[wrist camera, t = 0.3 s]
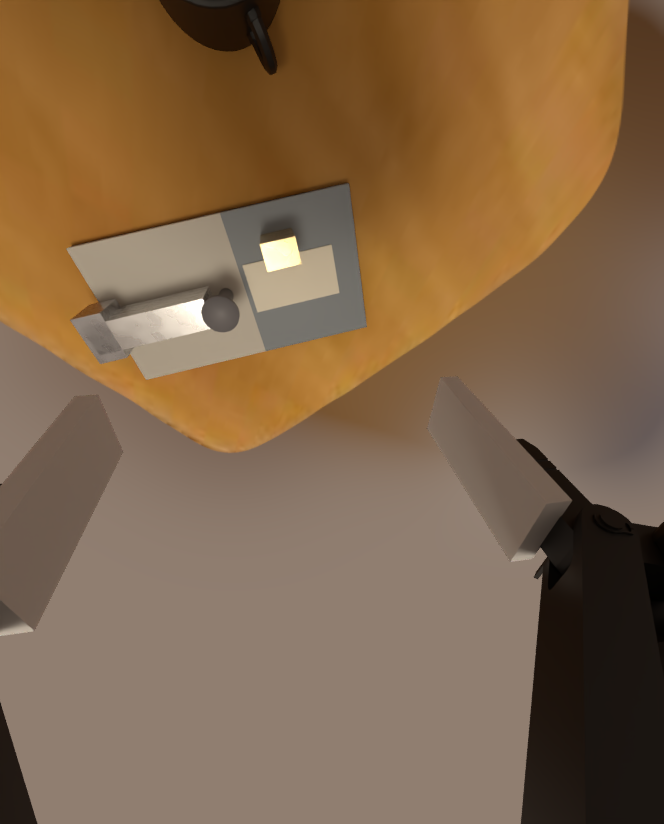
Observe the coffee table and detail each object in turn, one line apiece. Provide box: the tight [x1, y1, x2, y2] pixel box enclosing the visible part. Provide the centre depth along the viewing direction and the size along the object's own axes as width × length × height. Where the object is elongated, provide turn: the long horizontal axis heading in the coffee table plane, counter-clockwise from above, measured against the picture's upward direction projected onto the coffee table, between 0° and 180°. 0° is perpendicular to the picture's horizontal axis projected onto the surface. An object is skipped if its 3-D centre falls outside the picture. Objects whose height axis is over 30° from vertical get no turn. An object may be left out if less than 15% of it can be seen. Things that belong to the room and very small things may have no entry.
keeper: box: [260, 228, 301, 272], centre depth 31 cm, size 2×3×5 cm
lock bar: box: [70, 286, 212, 364], centre depth 32 cm, size 11×4×4 cm, turn 101°
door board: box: [66, 183, 367, 380], centre depth 33 cm, size 14×26×7 cm, turn 101°
